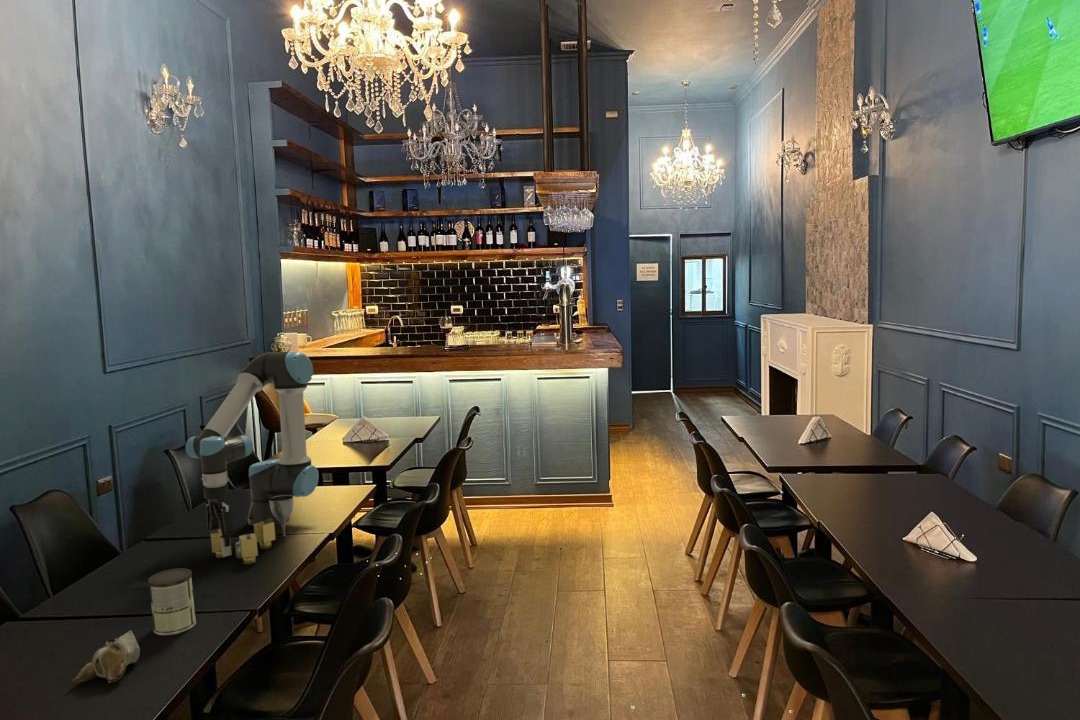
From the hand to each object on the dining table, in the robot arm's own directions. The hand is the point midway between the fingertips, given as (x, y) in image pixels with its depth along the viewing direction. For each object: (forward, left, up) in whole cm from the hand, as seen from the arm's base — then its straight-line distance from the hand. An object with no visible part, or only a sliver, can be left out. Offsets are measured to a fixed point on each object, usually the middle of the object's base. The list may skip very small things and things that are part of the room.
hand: (221, 553), depth 254 cm
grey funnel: (-19, +14, -3) cm, 24 cm away
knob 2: (+7, +12, -1) cm, 14 cm away
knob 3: (-7, +12, -1) cm, 14 cm away
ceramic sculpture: (+75, +6, -3) cm, 75 cm away
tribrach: (0, +8, -2) cm, 8 cm away
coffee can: (+50, +9, -3) cm, 51 cm away
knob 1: (0, 0, -1) cm, 1 cm away
